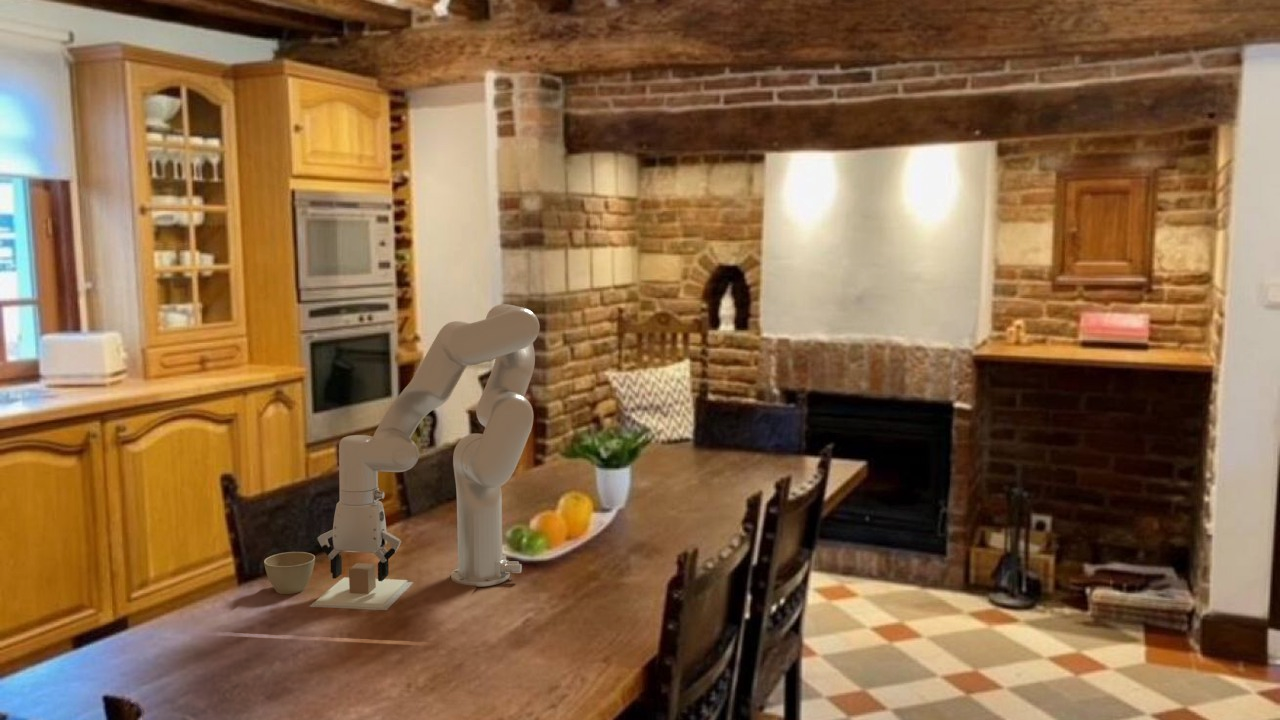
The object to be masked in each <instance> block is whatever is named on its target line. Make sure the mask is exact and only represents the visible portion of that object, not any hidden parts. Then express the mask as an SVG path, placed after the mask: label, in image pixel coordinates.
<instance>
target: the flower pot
mask: <svg viewBox="0 0 1280 720" xmlns="http://www.w3.org/2000/svg"><path fill="white" fill-rule="evenodd" d="M315 561H316V556H315V555H314V554H312V553H309V552H305V551H289V552H281V553H277V554H273V555H270V556H268V557H266V558H264V561H263V565H264V569H265V572H266V576H267V578H268V580H269V582H270V583H271V586H272V587H273V589H274V591H275V592H276V593H277V594H280V595H293V594H297V593H298V594H299V593H301V592H303V591H304V590H305V589H306V587H307V585H308V584H309V582H310V579H311V577H312V574H313V571H314V566H315V563H316V562H315Z"/></svg>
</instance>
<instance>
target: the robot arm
mask: <svg viewBox="0 0 1280 720" xmlns="http://www.w3.org/2000/svg"><path fill="white" fill-rule="evenodd" d="M539 333H540V322H539V319H538V317H537V315H536V314H535V313H534V312H533V311H531V309H528V308H526V307H522V306H517V305H513V304H507V303H503V304H497V305H495V306H493V307H492V308H491V309H489V311H488V312H487V315H486V317H485V319H481V320H477V321H474V322H471V323H469V322H466V321H460V320H459V321H457V320H455V321H450V322H448V323H446V324H444V326H442V327H441V328H440V330H439V332H438V333H437V335H436V336H435V338H434V340H433V342H432V344H431V345H430V347H429V349H428V351H427V353H426V355H425V356H424V358H423V359H422V362H421V364H420V365H419V367H418V369H417V370H416V372H415V374H414V375H413V377H412V379H411V380H410V382H409V383H408V384H407V386H405V388H403V390H402V391H401V392H400V393H399V395H398V396H397V397H396V398H395V399H394V401H393V402H391V405H390V406H389V407H388V409H387V411H386V412H385V414H384V415H383V417H382V419H381V421H380V423H379V424H378V426H377V428H376V430H375V431H374V433H373V436H371V435H367V434H355V435H354V434H353V435H347V436H345V437H343V438H341V440H340V441H339V443H338V463H339V464H338V466H339V467H338V468H339V469H338V471H339V473H338V476H339V483H338V484H339V501H338V502H337V503H336V506H335V511H334V517H333V524H332V525H333V527H332V529H331V530H329V531H327V532H325V533H323V534H320V535H319V536H318V537H317V541H318V543H319V545H320V546H321V550H322V551H323V552H324V553H325V554H326V556H327V558H328V559H329V560H330V573H331V574H332V575H331V578H332V579H334V580H335V579H337V578H338V577H339V576H341V575H342V574H343V573H342V571H343V569H342V568H343V564H342V563H343V561H342V558H343V557H342V555H340V553H341V552H344V553H345V552H346V553H347V552H349V553H360V554H361V553H362V554H374V555H375V556H376V557H377V558H378V560H379V562H377V579H378V581H383V580H384V579H387V577H388V576H389V571H390V570H389V569H390V568H389V559H390V558H392V557H393V556H394V554H396V553H397V551H398V549H399V547H400V545H401V543H402V540H401V539H400V538H398V537H397V536H395V535H393V534H392V533H390V532H388V531H387V523H386V516H385V509H384V505H383V502H382V501H380V499H383V500H384V498H385V491H380V487H379V485H378V484H379V481H378V480H379V479H378V478H379V472H388V473H389V472H391V473H402V472H406V471H409V470H411V469H412V468H414V466H416V464H417V462H418V460H419V457H420V455H419V454H420V451H419V447H418V446H417V444H416V443H415V441H414V440H413V439H412V436H413V434H414V433H415V432H416V430H417V428H418V426H419V425H420V424H421V422H422V421H423V419H424V418H426V416H428V415H429V413H431V412H432V411H434V410H436V409H437V408H439V407H441V406H443V404H445V403H446V402H448V400H449V399H450V397H451V396H452V394H453V392H454V390H455V388H456V386H457V385H458V383H459V381H460V379H461V377H462V376H463V373H464V372H465V370H466V368H467V367H468V366H475V365H479V364H483V363H486V362H489V361H492V360H494V363H493V366H492V369H491V373H490V374H489V377H488V379H487V382H486V384H485V387H484V389H483V392H482V393H481V396H480V399H479V401H478V403H477V407H476V411H475V412H476V413H475V415H476V418H477V420H478V422H479V423H480V425H481V426H483V427H484V430H483V433H469V434H467V435H465V436H463V437H462V438H460V440H459V441H457V444H456V446H455V448H454V449H453V450H454V451H453V457H452V459H453V460H452V465H453V473H454V480H455V488H456V491H455V492H456V518H457V519H456V520H457V521H456V523H457V526H456V529H457V565H458V567H457V568H455V569H454V570H453V571H452V572H451V573H450V577H451V580H452V582H454V583H457V584H460V585H464V586H465V585H466V586H476V588H481V587H482V588H483V587H484V588H485V587H490V586H495V585H496V586H497V585H499V584H502V583H504V582H506V581H508V579H509V578H510V577H511V576H510V573H513V574H521V573H522V571H523V570H522V569H523V568H522V567H523V566H522V565H523V564H522V563H520V562H519V561H513V560H512V561H509V559H507V554H506V553H505V554H503V515H502V514H503V513H502V512H503V511H502V509H503V508H502V507H503V505H502V504H503V502H502V500H503V499H502V498H503V497H502V488H501V487H502V486H503V485H504V484H506V483H507V482H508V481H509V480H510V479H511V477H513V474H514V472H515V470H516V468H517V466H518V464H519V461H520V459H521V456H522V454H523V453H524V449H525V447H526V444H527V442H528V440H529V436H530V434H531V432H532V428H533V424H534V410H533V406H532V403H530V401H529V400H528V399H527V398H526V397H525V396H526V393H527V391H528V389H529V385H530V382H531V379H532V376H533V373H534V369H535V363H536V362H535V361H536V355H535V354H536V353H535V348H534V347H535V346H534V342H535V341H536V340H537V338H538V336H539ZM330 538H332V545H331V544H330V543H329V540H328V539H330ZM387 543H390V544H391V546H390V548H389V550H387V548H386V546H387Z"/></svg>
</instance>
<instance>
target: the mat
mask: <svg viewBox="0 0 1280 720" xmlns="http://www.w3.org/2000/svg"><path fill="white" fill-rule="evenodd" d="M338 582H339V581H337V582H336V583H335V584H337V583H338ZM413 584H414V582H413V581H407V585H406V586H405V587H404V588H403V589H402V590H401V591H400V592H399V593H398V594H397V595H396V596H395V597H394V598H393V599H392V600H391V601H390V602H389V603H388V604H387V605H386V606H385V607H384V608H376V607H354V606H331V605H316V600H315V601H314V602H312V603H311V604H310V605H308V606H309V608H331V609H332V608H333V609H349V610H350V609H351V610H352V609H354V610H373V611H375V610H376V611H378V610H379V611H387V610H388V609H389V608H390V607H392V605H393V604H394V603H395V602H396V601H397V600H398V599H400V597H401V596H402V595H403V594H405V592H406V591H407V590H408V589H409V587H411V586H412V585H413ZM332 587H333V586H332ZM332 587H331V588H332ZM331 588H329V589H331ZM325 593H326V592H324V593H323V594H325ZM319 598H320V597H318V598H317V599H319Z"/></svg>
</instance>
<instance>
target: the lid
mask: <svg viewBox="0 0 1280 720" xmlns="http://www.w3.org/2000/svg"><path fill="white" fill-rule="evenodd" d="M337 582H338V583H337ZM337 582H336V583H337V584H336V583H335V584H333V585H332V588H331V589H330V588H329V589H328V590H326V591H325V592H324V593H325V594H324V593H323V594H322V595H321V596H320V597H318V598H319V599H318V598H317V599H316V600H315V601H316V605H331V606H354V607H376V608H384V607H385V606H386V605H387V604H388V603H389V602H390V601H391V600H392V599H393V598H394V597H395V596H396V595H397V594H398V593H399V592H400V591H401V590H402V589H403V588H404V587H405V586H406V585H407V582H408V579H393V578H385V579H384V580H383V581H378V578H376V563H364V562H363V563H362V562H361V563H360V562H357V563H355V564H354V565H352V566H351V567H350V568H349V569H348V577H345V576H344V577H342V579H340V580H339V581H337Z"/></svg>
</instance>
